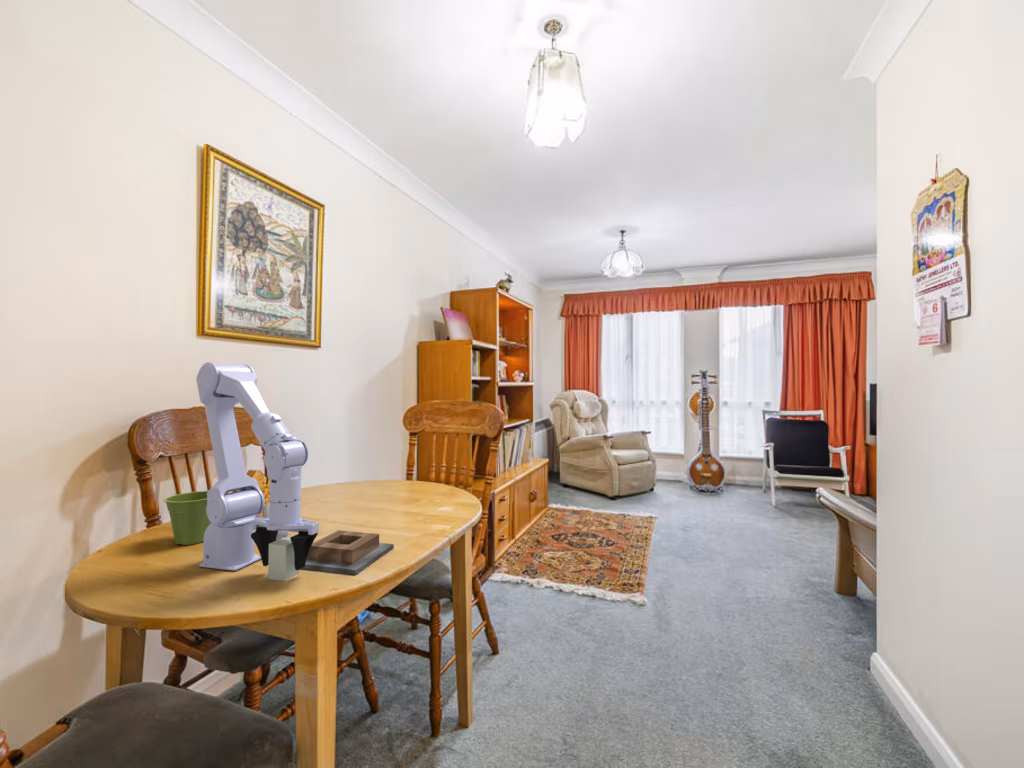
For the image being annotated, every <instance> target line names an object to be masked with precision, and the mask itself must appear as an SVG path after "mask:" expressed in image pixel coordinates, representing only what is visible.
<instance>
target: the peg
mask: <svg viewBox="0 0 1024 768" xmlns="http://www.w3.org/2000/svg"><path fill="white" fill-rule="evenodd" d="M267 570H268V574H267V579H268V580H274V581H283V582H286V581H287V580H289V579H291V578H293V577H294V576H297V575H298V574H299V573H300V570H295V566H294V549H293V545H292V542H291V539H290V537H286V538H281V539H279V540H277V541H274V542H272V543H270V544H269V561H268V566H267Z"/></svg>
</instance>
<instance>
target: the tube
mask: <svg viewBox="0 0 1024 768" xmlns="http://www.w3.org/2000/svg"><path fill="white" fill-rule="evenodd" d="M269 507H270V502H267V503H266V504H265V505H264V509H263V511H262V518H269ZM288 536H289V531H279V530H278V534H277V537H276V541H277V540H279V539H281V538H288Z"/></svg>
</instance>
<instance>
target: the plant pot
mask: <svg viewBox="0 0 1024 768" xmlns="http://www.w3.org/2000/svg"><path fill="white" fill-rule="evenodd" d="M208 491H209V490H202V491H190V492H185V493H179V494H178V493H177V494H174V495H171V496H168V497H167V496H166V497H165V498H164V499H163V502H164V503H165V504H166V508H167V511H168V513H169V517H170V523H171V529H172V533H173V539H174V543H175V544H176V545H183V546H190V545H196V544H200V543H202V542H203V541H204V533H205V531H206V529H207V527H208V526H209V525H210V524H211V521H210V520H209V519H208V516H207V512H206V508H207V492H208Z"/></svg>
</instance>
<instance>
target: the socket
mask: <svg viewBox="0 0 1024 768" xmlns="http://www.w3.org/2000/svg"><path fill="white" fill-rule="evenodd" d="M394 545H395V544H394V543H386V542H380V534H379V533H371V532H370V533H369V532H362V531H361V532H360V531H352V530H351V531H350V530H349V531H348V530H339V529H338V530H336V531H334V532H332V533H331V534H328V535H326V536H325V537H322V538H320V539H318V540H315V541H313V543H312V545H311V548H310V550H309V553H308V556H307V560H306V563H305V567H303V568H301V569H302V570H310V571H311V570H312V571H320V572H328V573H336V574H346V575H354V576H356V575H358V574H359V573H361V572H362V571H364V570H365V569H367V568H368V567H370V566H371V565H373V563H375V562H377V561H378V560H379V559H381V558H382V557H383V556H385V555H387V554H388V553H389V552H390V550H391V551H393V550H394V549H395V546H394ZM301 569H300V570H301Z"/></svg>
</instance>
